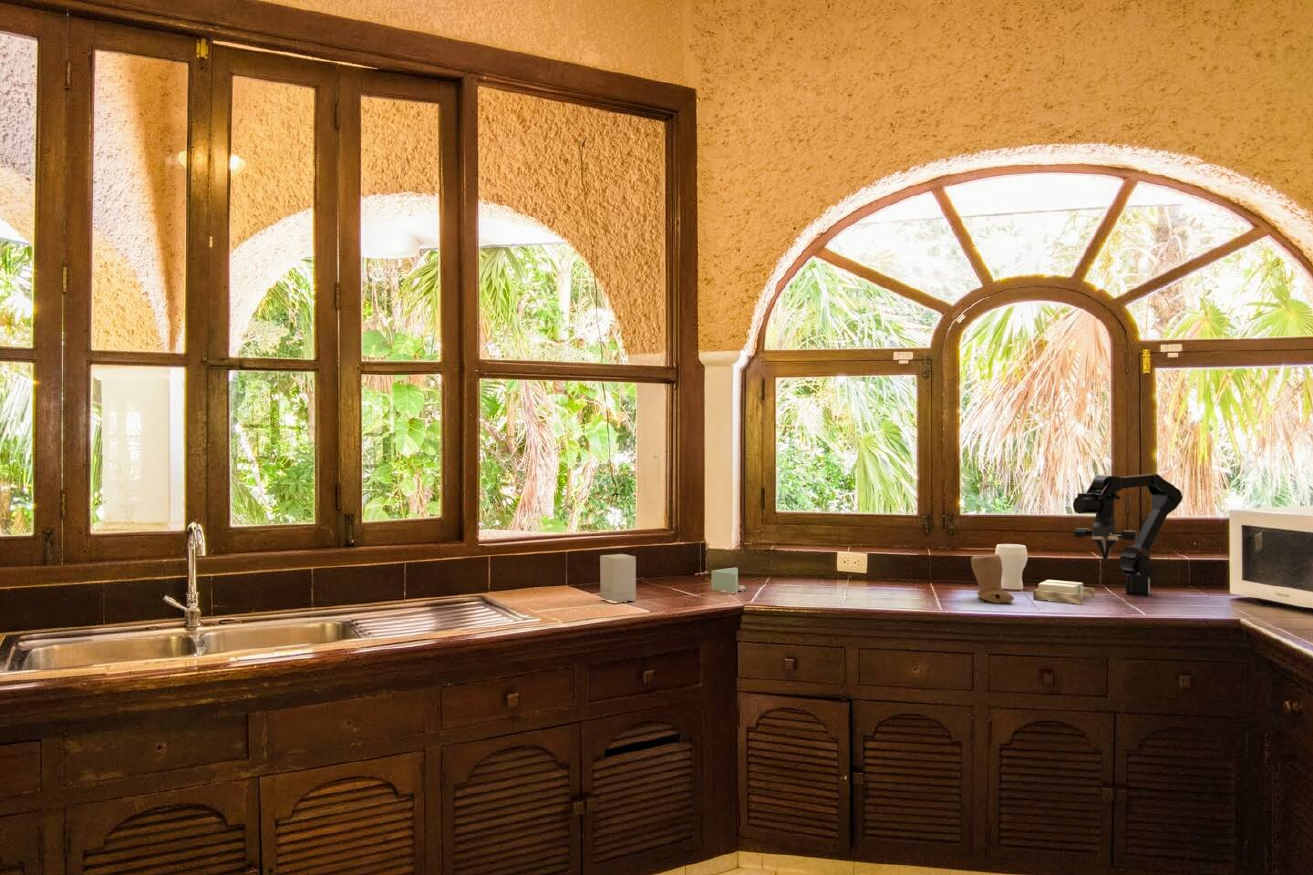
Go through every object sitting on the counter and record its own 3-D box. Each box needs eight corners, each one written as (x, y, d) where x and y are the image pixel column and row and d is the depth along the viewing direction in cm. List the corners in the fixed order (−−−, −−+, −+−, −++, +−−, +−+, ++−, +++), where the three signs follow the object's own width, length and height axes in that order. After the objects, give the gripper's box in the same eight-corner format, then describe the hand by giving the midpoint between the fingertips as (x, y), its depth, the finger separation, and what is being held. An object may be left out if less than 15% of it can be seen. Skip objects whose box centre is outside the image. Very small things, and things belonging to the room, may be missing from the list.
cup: (990, 585, 319) (989, 543, 319) (1018, 585, 320) (1018, 543, 320) (1004, 590, 309) (1003, 547, 309) (1033, 590, 310) (1033, 546, 310)
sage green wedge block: (735, 596, 305) (735, 574, 305) (711, 591, 314) (711, 570, 314) (760, 592, 313) (759, 570, 313) (735, 588, 322) (735, 567, 322)
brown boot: (969, 595, 300) (968, 551, 300) (1006, 596, 298) (1006, 551, 298) (975, 603, 285) (975, 556, 285) (1014, 604, 283) (1014, 557, 283)
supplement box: (636, 601, 292) (636, 556, 292) (612, 604, 287) (612, 558, 287) (623, 597, 300) (623, 553, 300) (599, 600, 295) (599, 555, 295)
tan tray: (1094, 597, 295) (1094, 588, 295) (1082, 604, 282) (1082, 594, 282) (1047, 592, 305) (1047, 583, 305) (1033, 599, 292) (1033, 590, 292)
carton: (1083, 597, 295) (1083, 582, 295) (1075, 602, 286) (1074, 586, 286) (1047, 594, 302) (1047, 579, 302) (1038, 599, 293) (1038, 583, 293)
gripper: (1069, 513, 297) (1069, 560, 297) (1131, 516, 286) (1131, 564, 285) (1077, 511, 306) (1077, 556, 306) (1138, 513, 294) (1138, 561, 294)
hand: (1105, 559), depth 298 cm, fingers closed
